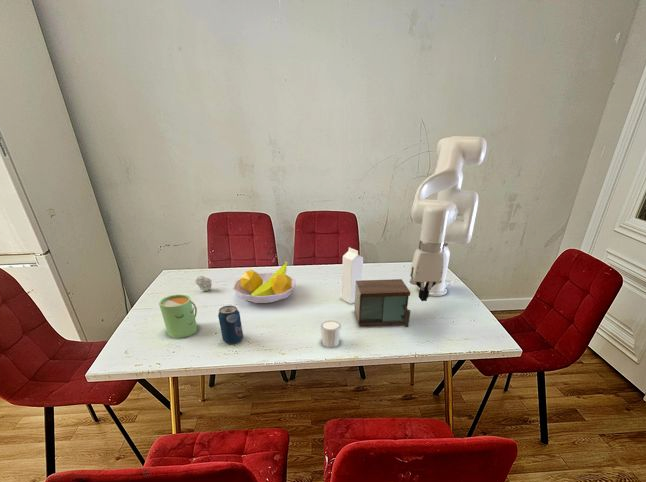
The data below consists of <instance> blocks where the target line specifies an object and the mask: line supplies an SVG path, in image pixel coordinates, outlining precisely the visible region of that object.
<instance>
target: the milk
mask: <svg viewBox="0 0 646 482" xmlns="http://www.w3.org/2000/svg"><path fill="white" fill-rule="evenodd" d="M341 271H342V277H341V279H342V280H341V289H342V290H341V299H342V301H345V302H346V303H348V304H350V305H351V304H355V286H356V281H361V280H363V273H364V256H361V255H360V254H359V250H357V249H355V248H352V247H350V246H349V247H348V250H347V251H346V252H345V253H344V254H343V255H342V270H341Z"/></svg>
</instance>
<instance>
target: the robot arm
mask: <svg viewBox="0 0 646 482" xmlns="http://www.w3.org/2000/svg"><path fill="white" fill-rule="evenodd" d="M487 145H488V144H487V139H486V138H485V137H483V136H477V135H476V136H473V135H472V136H471V135H470V136H469V135H452V136H449V137H443V138H441V139H440V140H439V141H438V142H437V144H436V158H437V162H436V166H435V170H434V173H433V174H431V175H430V176H428V177H427V178H426V179H424V180H423V182H422V183H421V184H420V185H419V186H418V188H417V190H416V192H415V195H414V199H413V203H412V207H411V211H410V212H411V213H410V217H411V221H413V222H414V223H415V224H420V225H421V227H420V236H419V244H418V248H416V249H415V251H414V254H413V257H412V261H411V266H410V271H409V277H410V278H409V283H410V285H413V286H417V287H418V298H419V300H420V301H421V302H427V301H428V299H429V296H431V297H441V296H444V295H446V294H447V293H448V289H447V286H451V285H453V284H454V282H453V280H452V279H451V280H447V273H448V268H449V263H450V262H449V261H450V256H451V251H450V249H449V247H448V246H449V244H453V245H461V246H462V245H463V246H464V245H468V244H469V243H470V242H471V240H472V237H473V232H474V227H475V224H476V223H475V222H476V217H477V213H478V208H479V200H480V199H479V194H478V192H476V191H475V190H467V189H462V184H463V180H464V173H463V166H481V164H482V163H483V162H484V159H485V157H486V154H487ZM436 193H437V197H436V199H427V197H429V196H432V195H434V194H436ZM457 217H462V218H463V219H457Z"/></svg>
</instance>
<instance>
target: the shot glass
mask: <svg viewBox="0 0 646 482" xmlns="http://www.w3.org/2000/svg"><path fill="white" fill-rule="evenodd" d="M341 329H342V325H341V322H339V321H337V320H325V321H323V322H321V323H320V331H321V332H320V333H321V341H322V345H323V346H325V347H327V348H335V347H337V346H338V345H339V343H340V337H341V336H340V335H341Z"/></svg>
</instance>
